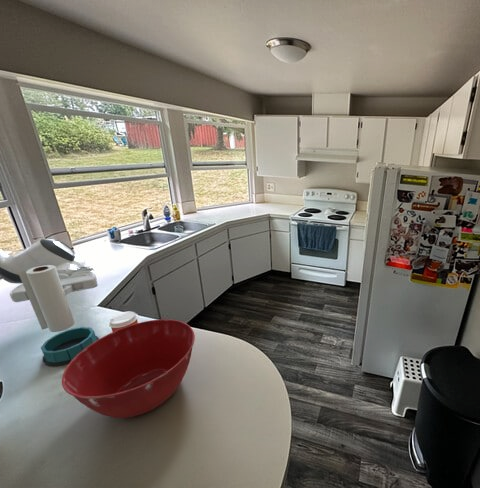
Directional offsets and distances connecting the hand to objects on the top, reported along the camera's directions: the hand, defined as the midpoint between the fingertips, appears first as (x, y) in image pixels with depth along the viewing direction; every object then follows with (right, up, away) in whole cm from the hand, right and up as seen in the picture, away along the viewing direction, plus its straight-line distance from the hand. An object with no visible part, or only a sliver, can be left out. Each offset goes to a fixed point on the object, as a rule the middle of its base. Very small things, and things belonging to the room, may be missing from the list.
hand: (51, 297), depth 78 cm
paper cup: (+19, -21, +9) cm, 29 cm away
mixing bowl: (+35, -27, -6) cm, 44 cm away
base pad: (-1, -20, +8) cm, 22 cm away
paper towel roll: (-1, -11, +5) cm, 12 cm away
